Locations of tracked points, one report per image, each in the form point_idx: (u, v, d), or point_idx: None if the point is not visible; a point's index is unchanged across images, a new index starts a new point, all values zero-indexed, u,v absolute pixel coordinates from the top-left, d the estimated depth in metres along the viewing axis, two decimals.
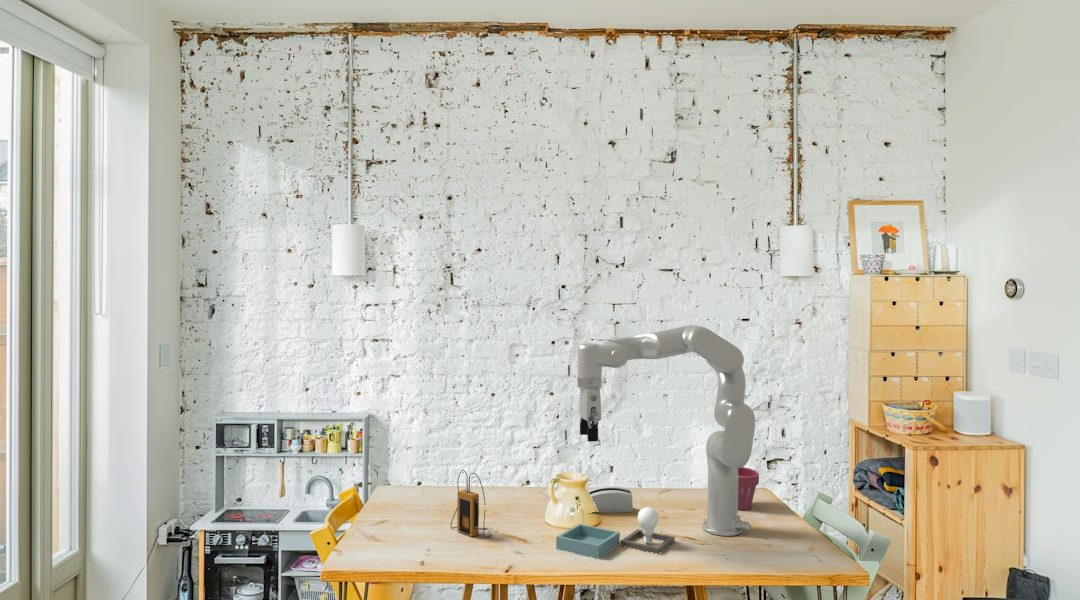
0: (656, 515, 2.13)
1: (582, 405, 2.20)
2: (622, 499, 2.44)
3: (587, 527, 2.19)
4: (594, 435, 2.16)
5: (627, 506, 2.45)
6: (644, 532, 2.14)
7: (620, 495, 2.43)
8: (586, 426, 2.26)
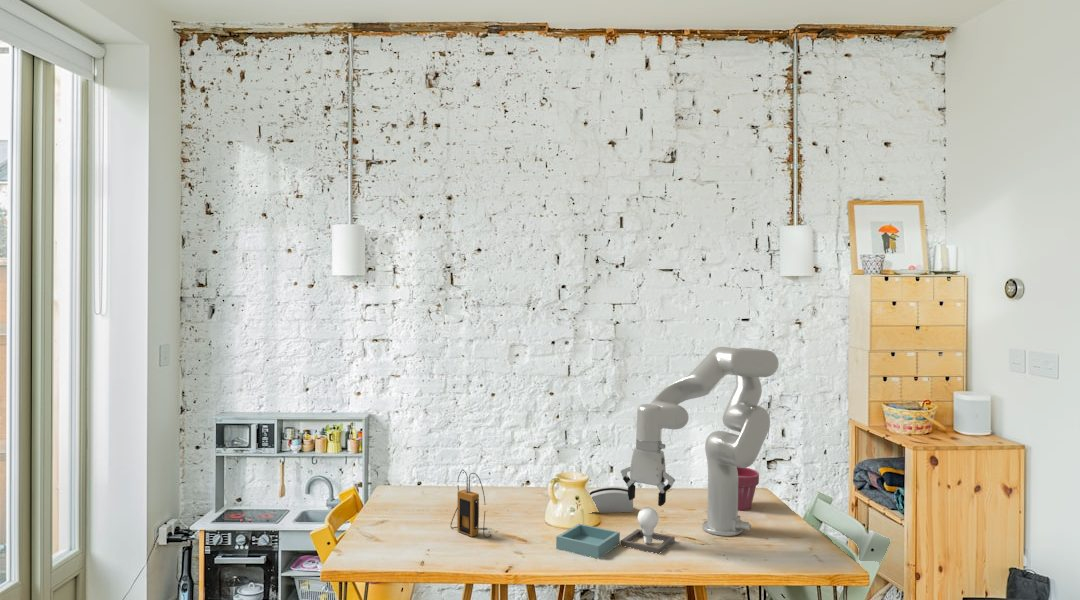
0: (656, 515, 2.13)
1: (647, 470, 2.12)
2: (622, 499, 2.44)
3: (587, 527, 2.19)
4: (664, 499, 2.12)
5: (628, 506, 2.45)
6: (644, 532, 2.14)
7: (621, 495, 2.43)
8: (633, 490, 2.17)
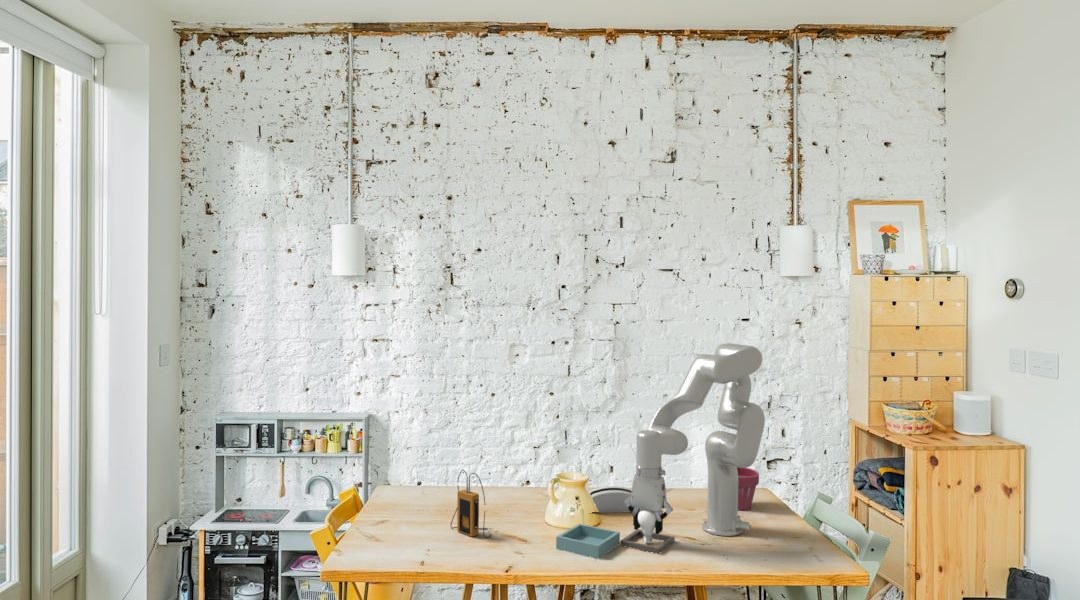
0: None
1: (648, 496, 2.12)
2: (623, 499, 2.44)
3: (587, 527, 2.19)
4: (661, 526, 2.13)
5: None
6: (644, 532, 2.14)
7: (622, 495, 2.43)
8: None
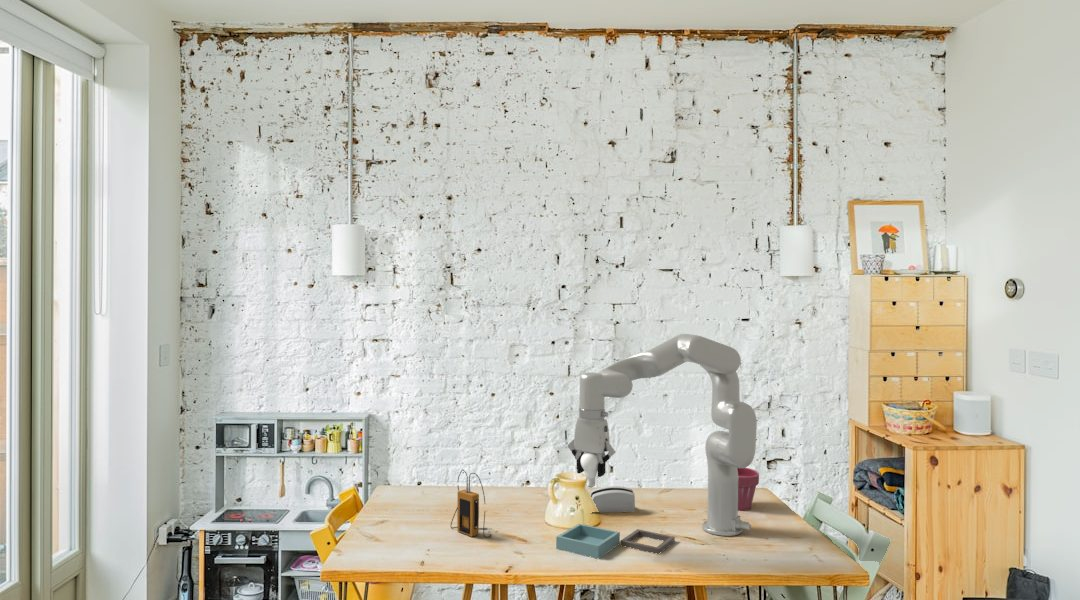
0: None
1: (590, 438, 2.09)
2: (624, 499, 2.44)
3: (587, 527, 2.19)
4: (604, 469, 2.10)
5: (630, 506, 2.45)
6: (587, 475, 2.11)
7: (623, 495, 2.43)
8: None
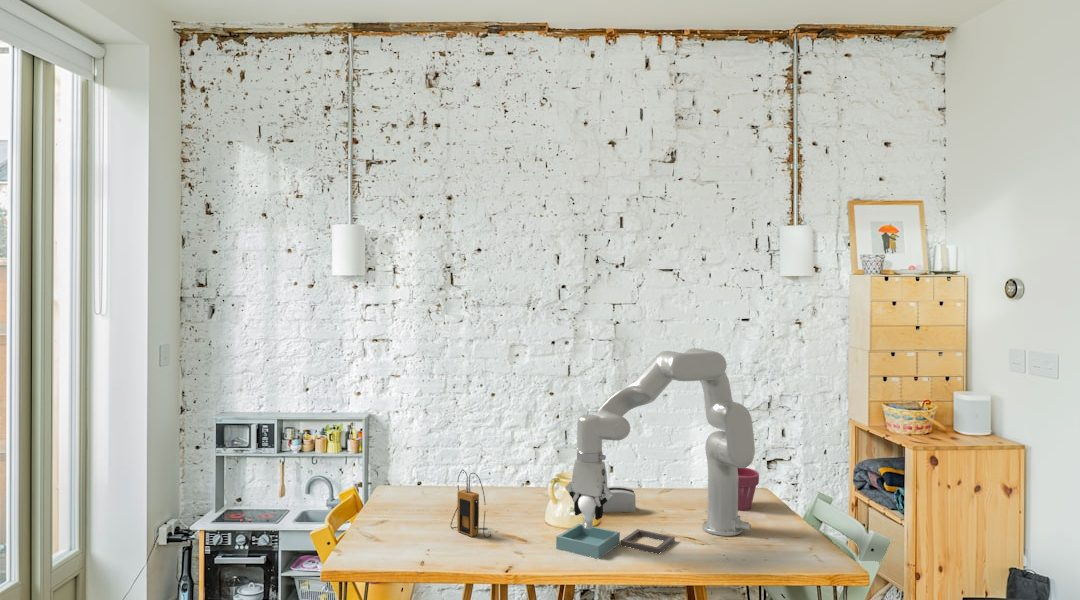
0: None
1: (588, 481, 2.09)
2: (625, 498, 2.44)
3: None
4: (602, 512, 2.10)
5: (631, 506, 2.46)
6: (584, 518, 2.11)
7: (623, 495, 2.44)
8: None
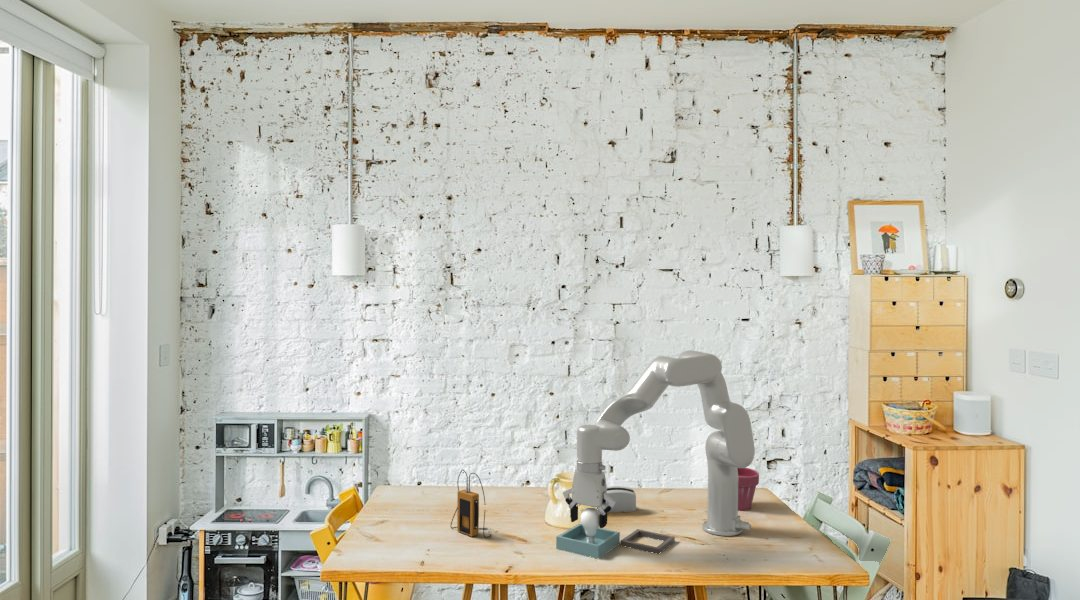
0: (598, 516, 2.10)
1: (588, 491, 2.10)
2: (625, 498, 2.44)
3: None
4: (606, 520, 2.09)
5: (631, 505, 2.46)
6: (586, 533, 2.11)
7: (624, 495, 2.44)
8: (576, 511, 2.15)
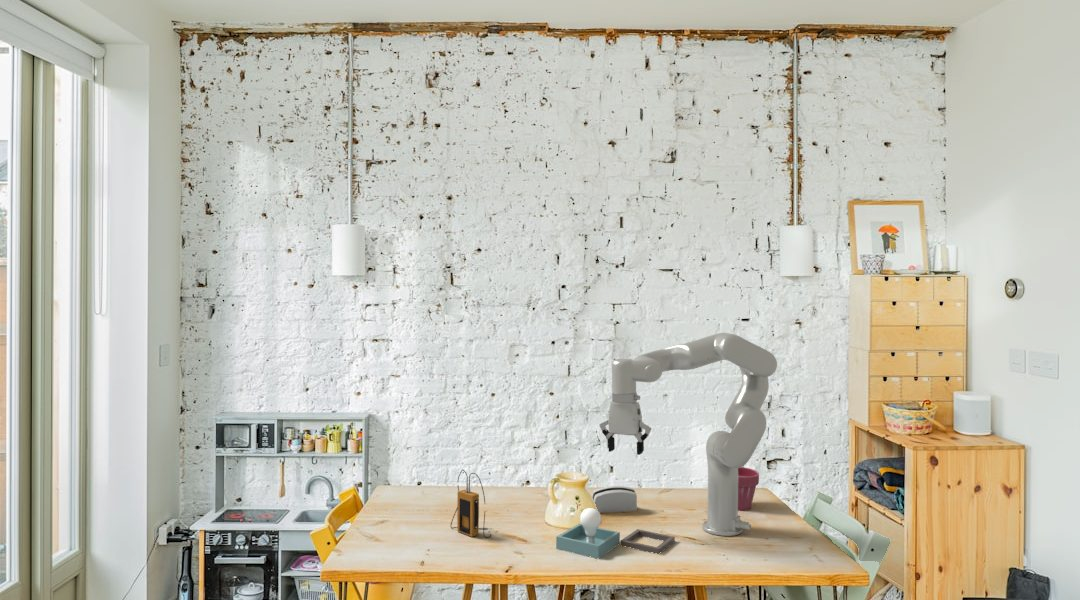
0: (598, 516, 2.10)
1: (624, 421, 2.21)
2: (626, 498, 2.44)
3: None
4: (643, 447, 2.21)
5: (632, 505, 2.46)
6: (586, 533, 2.11)
7: (625, 495, 2.44)
8: (613, 442, 2.26)
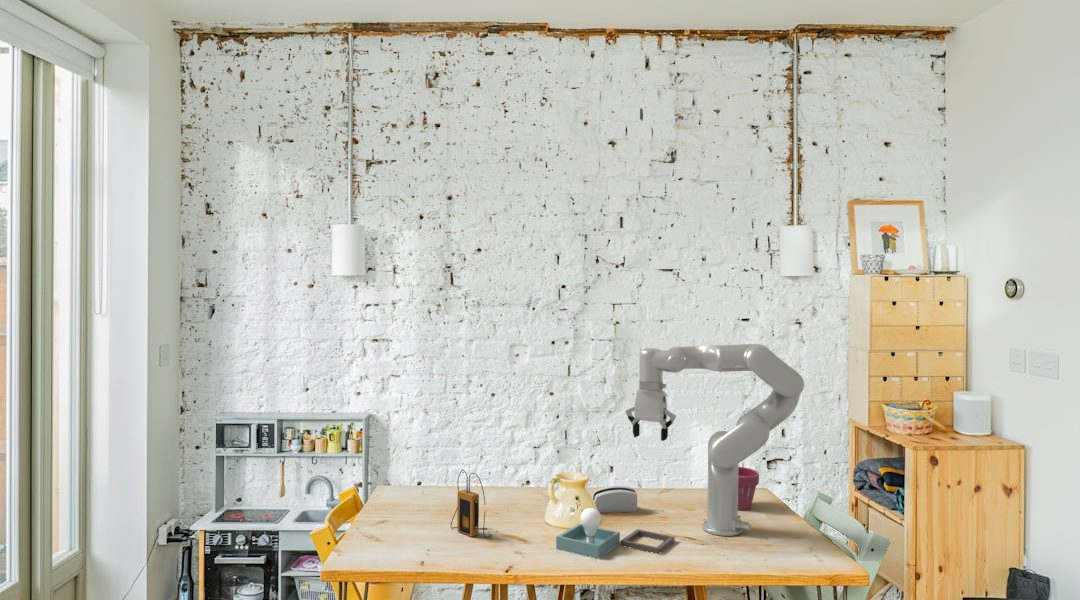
0: (598, 516, 2.10)
1: (650, 408, 2.30)
2: (627, 498, 2.44)
3: None
4: (667, 434, 2.30)
5: (632, 505, 2.46)
6: (586, 533, 2.11)
7: (626, 495, 2.44)
8: (638, 428, 2.35)
